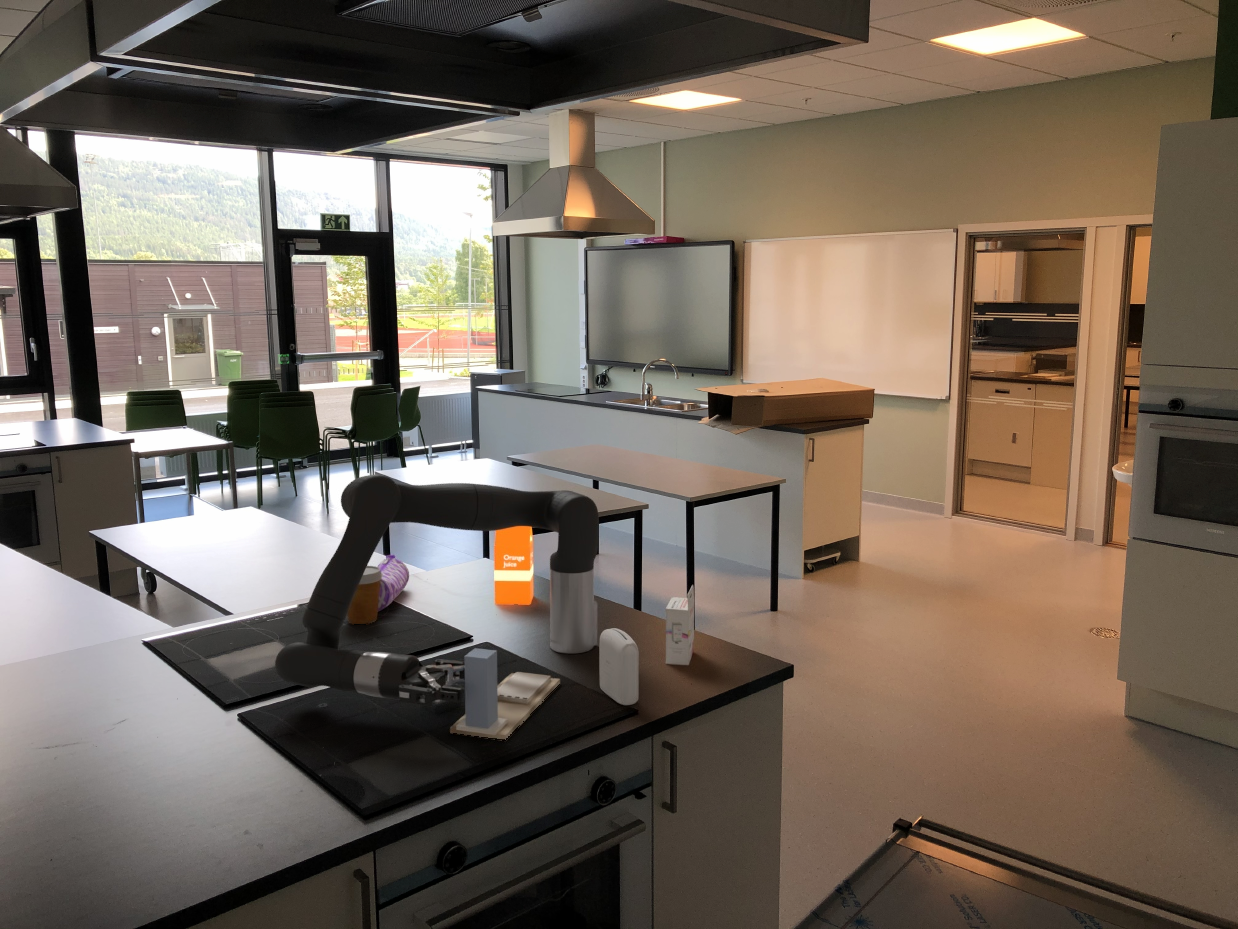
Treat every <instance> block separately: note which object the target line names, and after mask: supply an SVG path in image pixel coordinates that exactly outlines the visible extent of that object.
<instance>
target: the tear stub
mask: <svg viewBox="0 0 1238 929" xmlns="http://www.w3.org/2000/svg"><path fill="white" fill-rule="evenodd" d="M463 658H464V659H463V660H464V662H465V681H464V700H465V703H464V705H465V706H464V709H465V713H464V715H465V714H466V717H465V718H464V719H463V720H462V721H461V722H460V723H459V724H458V725H456V730H462V731H469V732H476V733H483V734H490V735H496V734H497V733H498V732H499V731H500V730H501V729H502V728H503V727H504V726H505V725H506V724H507V719H503V718H498V693H497V686H498V650H496V649H485V648H478V647H477V648H476V647H474V648H473V649H472V650H470V651H469V652H468V653H467V654H466V655H464V656H463Z"/></svg>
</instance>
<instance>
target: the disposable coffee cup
mask: <svg viewBox="0 0 1238 929" xmlns="http://www.w3.org/2000/svg"><path fill="white" fill-rule="evenodd" d="M382 576H383V574H382V573H381V570H380V568H379V567H378V566H373V565H367V567H366V569H365V571H364V574H363V576H362V578H361V581H360V583H359V585H358V588H357V590H356V593H355V595H354V598H353V600H352V603H351V605H350V608H349V611H348V613H347V620H348V623H349V622H350V623H352V624H351V625H354V624H366V623H371V622H373V621H375V620H378V612H379V611H378V602H379V592H380V581H381V578H382ZM350 623H349V624H350ZM371 624H372V623H371ZM366 625H367V624H366Z"/></svg>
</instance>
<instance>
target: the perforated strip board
mask: <svg viewBox="0 0 1238 929" xmlns="http://www.w3.org/2000/svg"><path fill="white" fill-rule="evenodd" d="M559 684H560V685H561V678H557V677H556V678H555V677H554V678H553V677H552V675H546V674H539V673H530V672H522V671H516V672H515V673H514V672H511V673H510V674H509V675H508V676H506V677H505V678H504V679H503V680H502V681H501V682H500V683H498V684H497V693H498V718H503V719H507V724H506V725H505V726H504V727H503V728H502V729H501V730H500V731H499V732H498V733H497V734H496V735H490V734H483V733H476V732H469V731H462V730H456V725H458V724H459V723H460V722H461V721H462V720H463V719H464V718H465V717H466V714H465V713H464V715H463V716H461V717H460V718H459V719H458V720H457V721H456V722H455V723H453V725H451V726H450V727H449V732H450V734H453V733H457V734H456V735H460V734H464V735H463V736H467V735H471V736H470V737H474V736H479V737H478V738H481V737H488V738H497V739H505V740H506V738H508V736H510V734H512V732H513V731H514V730H515V729H516V728H517V727H518V726H519V725H520V726H522V725H523V723H524V722H525V721H526V720H527V719H528V718H529V717H530V716H531V715H532V714H533V713H534V712H535V711H536V710H537V709H538V708H539V707H540V706H541V705H542V703H543V702H544V701H545V700H546V699H547V698H548V697H549V696H550V695H551V694H552V693H553V692H554V691H555V690H556V689H557V688H558V687H559V686H560V685H559ZM558 685H559V686H558ZM557 686H558V687H557ZM556 687H557V688H556ZM555 688H556V689H555ZM554 689H555V690H554ZM553 690H554V691H553ZM552 691H553V692H552ZM551 692H552V693H551ZM550 693H551V694H550ZM549 694H550V695H549ZM548 695H549V696H548ZM547 696H548V697H547ZM546 697H547V698H546ZM545 698H546V699H545ZM544 699H545V700H544ZM542 701H543V702H542ZM539 705H540V706H539ZM538 706H539V707H538ZM537 707H538V708H537ZM536 708H537V709H536ZM535 709H536V710H535ZM534 710H535V711H534ZM533 711H534V712H533ZM532 712H533V713H532ZM531 713H532V714H531ZM530 714H531V715H530ZM523 721H524V722H523ZM520 726H519V727H520ZM519 727H518V728H519ZM512 735H513V734H512ZM510 737H511V736H510ZM488 738H487V739H488ZM508 739H509V738H508ZM506 741H507V740H506Z"/></svg>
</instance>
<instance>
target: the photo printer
mask: <svg viewBox="0 0 1238 929" xmlns="http://www.w3.org/2000/svg"><path fill="white" fill-rule="evenodd" d="M598 650H599V654H598V655H599V663H598V664H599V668H598V669H599V674H598V675H599V687H600V689H601V691H602V692H604V693H605V695H607V696H608V697H609V698H610V699H613V700H614V701H615V702H616V703H617V704H620V705H623V706H630V705H634V704H636V703H637V702H638V701H639V660H640V658H639V653H640V652H639V648H638V645H637V643H636V642H635V640H633V638H632V637H631V636H630V635H629V634H628V633H627V632H625V630H622V629H619V628H612V627H611V628H607V629H604V630H602V632H601V634H600V636H599V648H598Z"/></svg>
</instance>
